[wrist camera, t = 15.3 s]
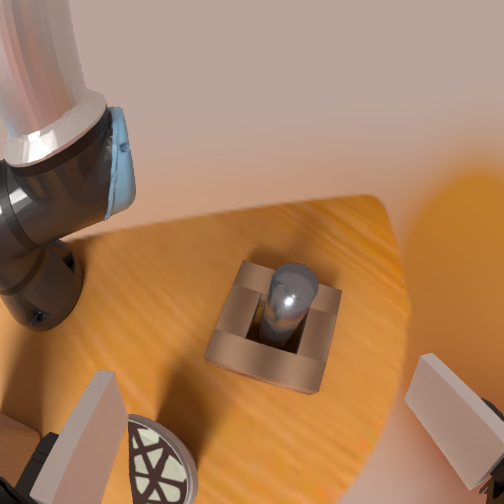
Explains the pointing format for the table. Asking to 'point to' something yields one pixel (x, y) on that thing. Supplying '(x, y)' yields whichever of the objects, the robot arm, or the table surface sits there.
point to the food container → (160, 464)
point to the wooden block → (15, 448)
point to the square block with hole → (265, 357)
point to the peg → (287, 303)
